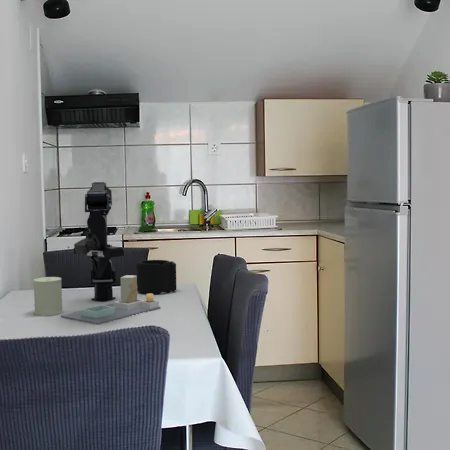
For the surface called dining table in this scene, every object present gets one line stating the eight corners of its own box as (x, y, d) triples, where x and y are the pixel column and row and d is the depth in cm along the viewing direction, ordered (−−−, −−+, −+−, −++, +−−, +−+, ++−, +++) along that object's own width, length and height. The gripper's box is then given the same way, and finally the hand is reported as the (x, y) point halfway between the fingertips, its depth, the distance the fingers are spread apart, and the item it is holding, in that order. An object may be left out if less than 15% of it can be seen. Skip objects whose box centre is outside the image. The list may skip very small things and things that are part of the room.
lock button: (145, 302, 209) (144, 294, 209) (149, 301, 211) (149, 293, 211) (150, 303, 208) (149, 294, 208) (154, 302, 210) (154, 293, 209)
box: (132, 309, 208) (131, 277, 207) (120, 309, 209) (119, 277, 208) (137, 306, 213) (137, 275, 212) (126, 306, 214) (125, 274, 213)
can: (37, 317, 200) (35, 280, 199) (32, 311, 208) (30, 276, 207) (65, 314, 204) (64, 278, 203) (59, 308, 212) (58, 274, 211)
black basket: (154, 287, 252) (153, 258, 251) (182, 290, 243) (181, 261, 242) (129, 292, 240) (128, 262, 239) (158, 296, 231) (157, 265, 230)
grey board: (60, 317, 199) (60, 309, 198) (124, 302, 221) (123, 295, 221) (97, 324, 188) (97, 316, 188) (160, 308, 210) (160, 301, 210)
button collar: (141, 307, 209) (141, 301, 209) (149, 305, 212) (149, 299, 212) (150, 309, 207) (150, 303, 206) (158, 306, 210) (158, 301, 210)
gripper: (59, 229, 197) (61, 277, 198) (98, 232, 186) (99, 283, 187) (86, 227, 206) (88, 273, 207) (125, 229, 195) (126, 278, 196)
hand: (99, 276), depth 199 cm, fingers closed
